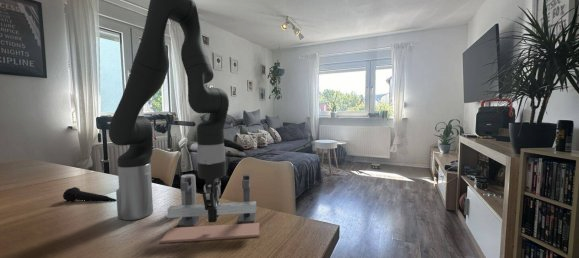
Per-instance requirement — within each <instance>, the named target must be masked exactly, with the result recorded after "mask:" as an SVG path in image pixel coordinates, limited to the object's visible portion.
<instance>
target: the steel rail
mask: <svg viewBox="0 0 579 258" xmlns="http://www.w3.org/2000/svg"><path fill="white" fill-rule="evenodd" d="M209 205H211V204H209ZM241 213H255V214H256V213H257V201H250V202H244V201H239V202H237V201H236V202H235V201H234V202H222V203H221V202H219V203H217V215H219V216H220V215H237V214H238V215H239V214H241ZM191 216H199V217H204V216H205V217H208V210H205V205H204V203H200V204H197V203H196V205H182V204H181V205H179V204H178V205H170V206H169V207H168V208H167V218H168V219H173V218H182V217H191Z"/></svg>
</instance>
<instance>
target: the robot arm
mask: <svg viewBox="0 0 579 258" xmlns="http://www.w3.org/2000/svg"><path fill="white" fill-rule="evenodd" d="M169 20H170V21H172V22H175V23H178V24H179V26H180V28H181V30H182V32H183V35H184V38H183V41H182V45H181V51H180V57H181V61H182V65H183V68H184V71H185V74H186V76H187V102H188V105H189V107H190V108H191V110H192V111H194V112H195V113H197V114H209V115H208V118H207V120H206V121H203V122H200V123H199V124H198V125H197V127H196V137H197V138H196V140H197V141H196V142H197V143H196V144H197V148H196V149H197V150H196V160H197V161H196V162H197V163H196V164H197V177H198V178H199V179H201V180H204V181H205V184H203V191H204V192H203V193H202V199H203V204H204V205H205V210H208V216H207V219H208V221H207V222H208V223H216V222H217V221H218V220H217V219H218V218H219V216H220V215H217V203H220V199H221V185H222V183H221V182H222V180H221V178H223V177H225V176H226V174H227V172H226V171H227V170H226V169H227V168H226V164H227V163H226V149H225V148H226V147H225V138H224V137H225V136H224V134H225V132H224V128H225V124H226V120H227V117H228V116H227V115H228V111H229V107H230V106H229V105H230V102H229V101H230V100H229V96H228V94H227V92H226V91H225V90H224V89H223V88H219V87H209V86H208V87H206V85H205V84H208V83H210V82H212V80H213V79H214V76H215V75H214V72H213V68H212V66H211V62H210V59H209V57H208V54H207V51H206V47H205V44H204V39H203V33H202V27H201V22H200V16H199V9H198V5H197V2H196V0H150V1H149V3H148V9H147V14H146V19H145V24H144V28H143V33H142V36H141V38H140V42H139V46H138V48H137V50H136V54H135V55H134V59H133V62H132V65H131V68H130V72H129V76H128V79H127V81H126V85H125V87H124V91H123V92H122V96H121V98H120V101H119V103H118V105H117V107H116V110H115V112H114V114H113V115H112V118H111V120H110V122H109V127H108V137H109V138H108V139H109V140H110V142H112V144H114V145H116V146H129V148H127V150H126V151H125V152H124V153H122V154H121V155H119V156H118V158H117V162H116V163H117V175H118V176H117V178H118V189H116V190H115V192H116V200H117V201H116V209H117V210H116V211H117V219H118V220H119V219H122V220H124V221H133V220H140V219H143V218H146V217H148V216H150V215H152V214H153V212H154V201H153V187H152V186H153V185H152V184H153V183H152V168H151V167H152V165H151V158H152V156H153V152H154V151H153V143H154V140H153V138H154V135H153V134H154V132H153V131H154V130H153V127H152V126H153V125H152V123H151V121H150V120H149V119H148V118H147V117H145V116H143V115H139V114H140V112H141V110H142V109H143V107H144V106H145V105H146V103H148V101H149V100H151V99H152V98H153V97H154V96H155V95H156V94H157V93H158V92H159V91H160V89H161V88H162V87H163V85H164V82H165V80H166V77H167V74H168V72H169V68H170V60H169V54H168V50H167V46H166V45H167V44H166V41H165V33H166V29H167V24H168V21H169ZM209 204H211V205H209Z"/></svg>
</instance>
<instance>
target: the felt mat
mask: <svg viewBox="0 0 579 258" xmlns="http://www.w3.org/2000/svg"><path fill="white" fill-rule="evenodd" d="M244 238H245V239H246V238H260V222H255V223H249V224H238V223H236V224H235V223H234V224H232V223H231V224H218V225H216V224H215V225H201V226H200V225H199V226H195V227H180V228H177V227H170V228H169V229H167V232H165V234H164V235H163V237H161V239H160V244H164V243H165V244H167V243H168V244H169V243H180V242H181V243H182V242H183V243H184V242H196V241H213V240H226V239H227V240H228V239H244Z"/></svg>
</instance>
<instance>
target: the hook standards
mask: <svg viewBox="0 0 579 258" xmlns="http://www.w3.org/2000/svg"><path fill="white" fill-rule="evenodd" d="M250 175H251V174H250V173H248V174H242V181H241V183H242V184H241V186H242V187H241V189H242V191H243V193H242V194H243V197H242V198H243V202H251V180H250V179H251V178H250ZM184 180H185V182H181V181H180V192H181V191H185V205H194V193H193V176H187V177H185V178H184ZM199 219H200V216H191V217H180V219H179V221H178V222H177V224H176V228H180V227H196V225H197V223H198V221H199ZM255 220H256V213H241V214H238V219H237V224H249V223H256V222H255Z"/></svg>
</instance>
